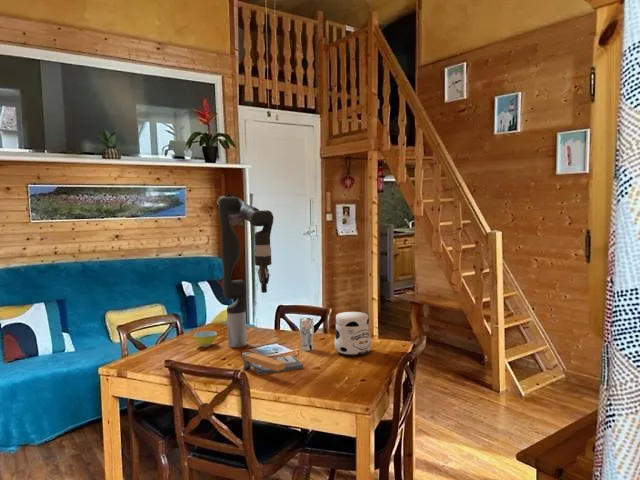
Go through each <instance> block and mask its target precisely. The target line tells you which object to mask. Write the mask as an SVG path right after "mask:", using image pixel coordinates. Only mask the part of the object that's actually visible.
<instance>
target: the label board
mask: <svg viewBox="0 0 640 480" xmlns="http://www.w3.org/2000/svg"><path fill="white" fill-rule="evenodd" d="M272 359H274V360H278V361H281V362H284V363H285V369H283V370H280V371H275V370H272V369H269V368H266V367H263V366H260V365H257V364H254V363H251V368H252V367H253V368H252V369H253V370H254V371H256V372H255V373H256V375H257V374H261V375H266V374H265V373H268V374H274V373H281V372H286V371H287V372H288V371H292V370H293V371H294V370H300V369H304V364H303V363H302V362H301V361H299V359H298V358H297V357H296V356H295V355H287V356H280V357H279V356H278V357H273V358H272ZM273 372H274V373H273Z"/></svg>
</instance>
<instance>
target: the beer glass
mask: <svg viewBox="0 0 640 480" xmlns="http://www.w3.org/2000/svg"><path fill="white" fill-rule="evenodd" d="M314 331H315V326H314V318H313V317H301V318H299V335H300V339H301V347H300V350H301V352H302V351H303V352H311V351H313V350H314V344H313V341H314Z"/></svg>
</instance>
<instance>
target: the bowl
mask: <svg viewBox="0 0 640 480" xmlns="http://www.w3.org/2000/svg"><path fill="white" fill-rule="evenodd" d="M217 336H218V332H216V331H213V330H204V331H203V330H202V331H198V332H195V333H194V335H193V338H194V341H195V342H196V343H197V344H199V345H200V346H201V347H202V348H207V347H210V346H211V345H212V344H213V343H214V342H215V341H216V339H217V338H218V337H217Z"/></svg>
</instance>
